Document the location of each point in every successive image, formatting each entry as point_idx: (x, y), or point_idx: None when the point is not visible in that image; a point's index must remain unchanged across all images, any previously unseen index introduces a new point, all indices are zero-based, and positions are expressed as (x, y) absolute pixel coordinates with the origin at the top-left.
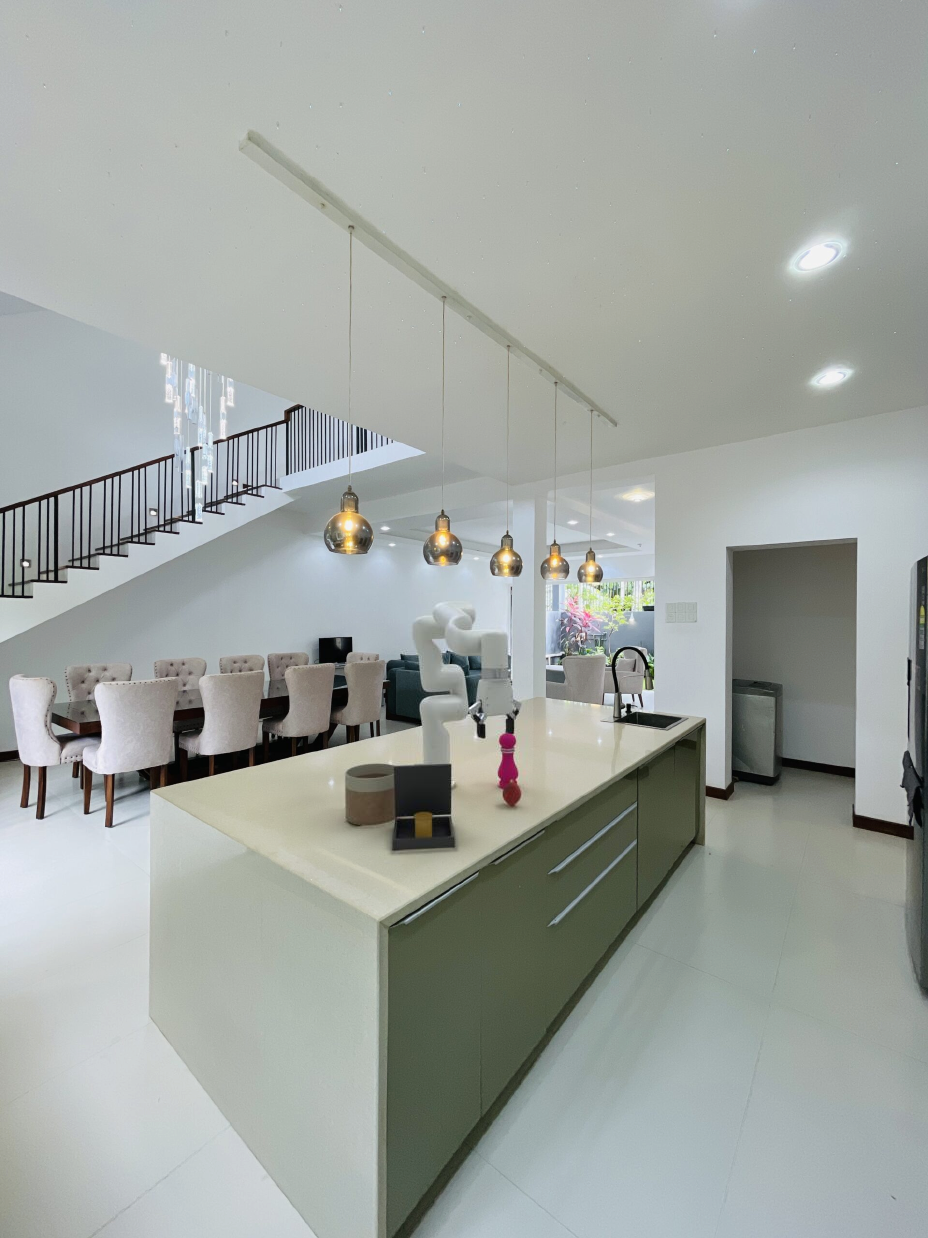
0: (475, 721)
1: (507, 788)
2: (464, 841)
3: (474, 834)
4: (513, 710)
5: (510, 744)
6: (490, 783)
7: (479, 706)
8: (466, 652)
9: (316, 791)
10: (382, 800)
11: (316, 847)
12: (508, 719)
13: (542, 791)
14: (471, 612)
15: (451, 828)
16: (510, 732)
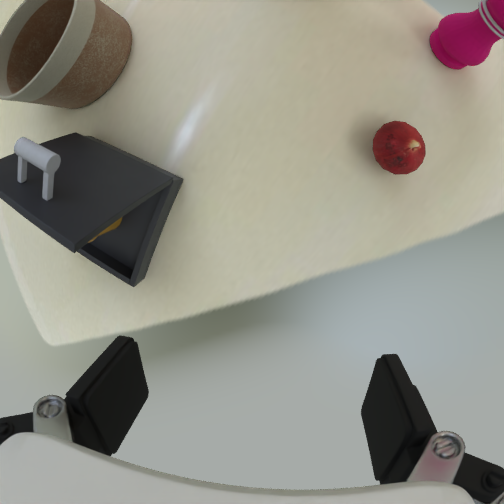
0: (42, 414)
1: (389, 149)
2: (174, 256)
3: (208, 239)
4: (474, 500)
5: None
6: (421, 8)
7: None
8: None
9: None
10: (49, 102)
11: (8, 153)
12: (401, 456)
13: (490, 130)
14: None
15: (142, 249)
16: (364, 407)
